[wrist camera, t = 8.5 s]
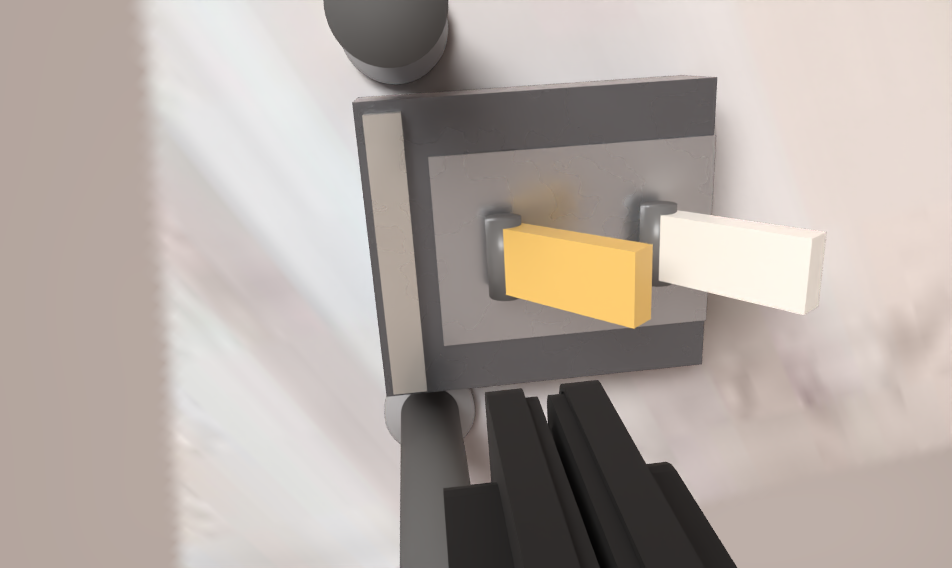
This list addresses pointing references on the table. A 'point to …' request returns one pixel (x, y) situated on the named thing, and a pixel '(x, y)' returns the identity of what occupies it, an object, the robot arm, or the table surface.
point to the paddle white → (734, 257)
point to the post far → (428, 467)
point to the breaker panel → (525, 221)
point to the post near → (390, 36)
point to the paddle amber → (569, 270)
